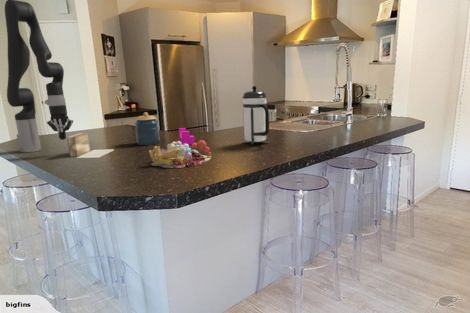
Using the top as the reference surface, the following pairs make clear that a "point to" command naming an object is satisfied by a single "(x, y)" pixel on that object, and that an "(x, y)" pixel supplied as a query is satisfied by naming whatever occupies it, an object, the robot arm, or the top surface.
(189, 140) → the toy block
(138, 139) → the canister
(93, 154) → the mat
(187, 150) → the candy landscape model
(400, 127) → the top surface
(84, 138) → the birch tile
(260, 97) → the coffee press
